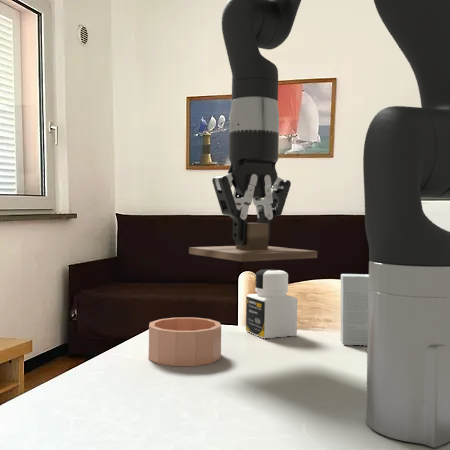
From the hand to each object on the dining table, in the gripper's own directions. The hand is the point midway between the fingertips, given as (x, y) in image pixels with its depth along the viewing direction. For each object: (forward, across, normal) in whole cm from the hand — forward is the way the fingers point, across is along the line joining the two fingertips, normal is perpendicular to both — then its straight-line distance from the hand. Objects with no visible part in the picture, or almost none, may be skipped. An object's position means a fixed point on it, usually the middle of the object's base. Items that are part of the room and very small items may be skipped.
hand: (251, 243), depth 82 cm
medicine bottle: (+18, +14, +12) cm, 26 cm away
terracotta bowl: (+18, -8, +6) cm, 20 cm away
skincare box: (+18, +22, -2) cm, 29 cm away
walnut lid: (+2, 0, 0) cm, 2 cm away
